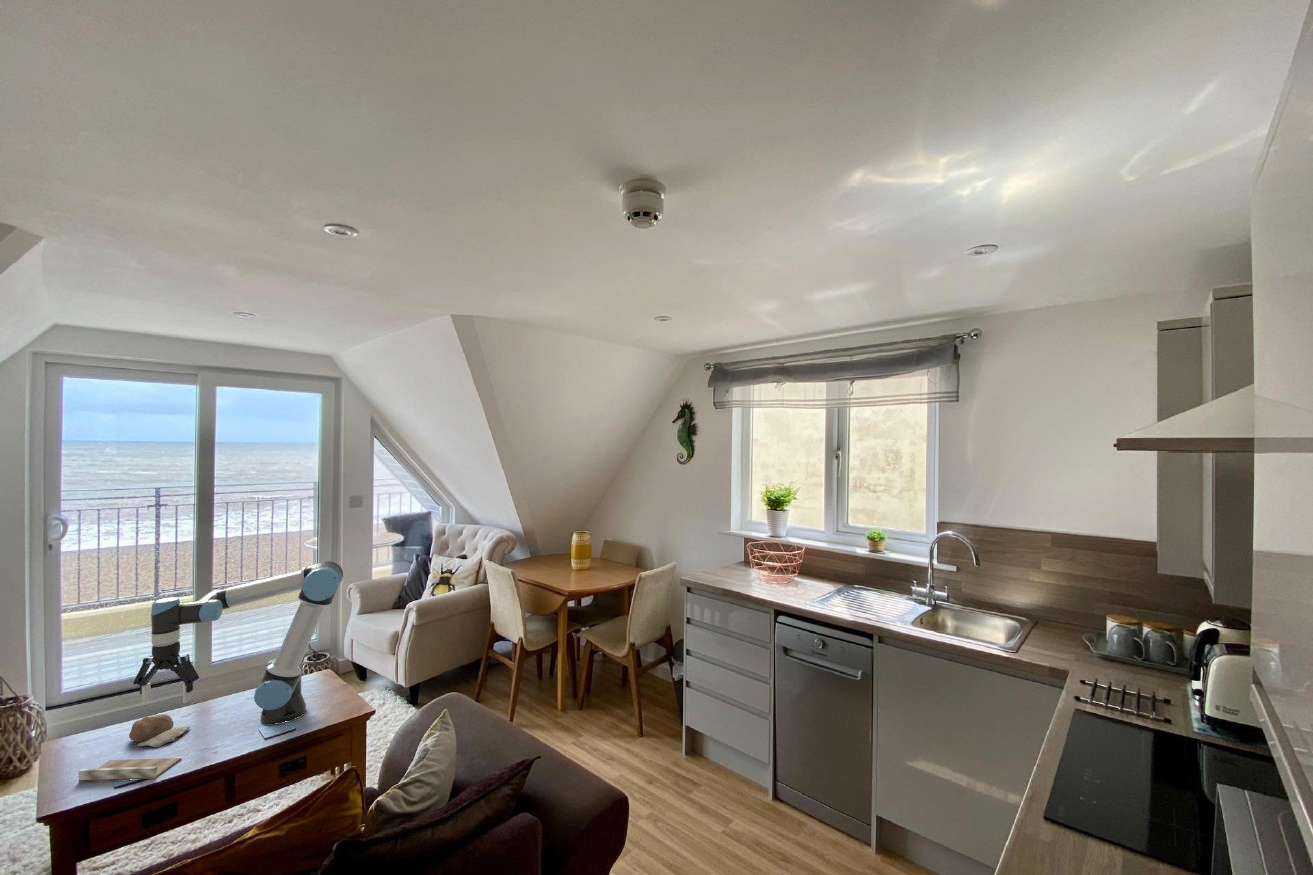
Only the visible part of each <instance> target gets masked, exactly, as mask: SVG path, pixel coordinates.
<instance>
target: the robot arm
mask: <svg viewBox="0 0 1313 875" xmlns="http://www.w3.org/2000/svg"><path fill="white" fill-rule="evenodd" d="M343 578H344V570H343V569H342V567H341V565H339V564H338V562H337V563H336V562H335V561H330V560H329V561H327V560H326V561H322V562H317V563H315V564H312V565H307V566H304V567H303V568H302V569H301V570H298V571H295V572H290V573H287V574H282V575H278V576H273V577H269V578H265V579H261V580H256V581H253V582H250V583H245V584H240V585H236V586H232V587H229V588H225V589H214V590H210V591H208V593H207V592H206V594H205V595H203V596H202V597H201V598H200V599H198V600H197V601H191V602H181V600H180V599H179V598H178V597H165V598H161V599H157V600H155V601H154V602H153V603H152V604H151V610H150V612H151V614H150V617H151V645H152V646H151V655H148V656H146V657H144V658H143V659H142V664H141V666H140V669H139V671H138V673H137V675H136V676H135V679H134V680H133V685H138V686H139V694H140V696H141V705H142V706H144V705H147V704H148V703H150V702H151V701H152V697H151V696H152V695H151V694H152V692H151V691H152V690H151V689H152V688H151V686H152V685H151V684H152V683H151V682H150V680H151V679H152V678H153V677H154V676H155V675H156V673H157V672H158V671H163V670H165V671H169V670H171V672H174V673H175V674H176V675H177V676H178V678H180V680H182V682H183V683H184V684H182V704H185V703H187V702H189V701H191V700H192V692H193V690H194V682H196V681H197V680H199V679H200V676H199V674H198V672H197V671H196V669H195V666H194V665H193V663H192V661H191V660H190V654H189V653H188V654H185V655H180V651H181V640H180V639H181V634H180V632H181V631H180V630H181V629H180V628H181V626H182V625H189V624H190V625H191V624H201V623H209V622H214V621H218V620H219V619H220V618H221V617H222V614H223V610H227V609H231V608H235V607H239V606H242V605H247V604H250V603H254V602H257V601H262V600H266V599H271V598H274V597H277V596H281V595H286V594H289V593H293V592H297V591H298V592H299V591H300V592H299V595H298V596H297V597H298V600H299V602H300V603H299V606H298V607H297V609H296V612H295V614H294V616H293V618H292V621H291V623H290V625H289V628H288V630H287V632H286V635H285V636H284V639H283V642H282V644H281V646H280V649H279V650H278V653H277V656H276V657H275V658H273V659H271V660H269V661H268V662H267V663H266V667H265V669H266V670H265V672H264V674H263V676H262V678H261V680H260V683H259V685H258V686H257V688H255V691H254V694H253V695H254V696H253V699H254V703H255V704H256V706H258V707H259V708H261V709H262V711H261V713H260V723H261V724H263V725H267V724H275V723H282V722H285V721H290V720H292V721H294V720H293V719H295V718H297V717H299V716H301V715H302V714H303V715H305V713H306V712H307V704H306V701H305V699H304V696H303V694H302V665H303V662H302V661H303V658H304V656H305V654H306V652H307V650H308V647H309V645H310V642H311V640H312V638H313V635H314V633H315V631H316V628H317V627H318V624H319V622H320V619H321V617H322V614H323V613H324V609H325V608H326V607H328V606H330V605H331V604H332V602H333V600H334V597H335V595H336V593H337V590H338V589H339V586H340V584H341V583H342V580H343ZM152 663H153V666H152V667H151V668H150V666H151V665H152ZM148 670H149V671H148ZM305 711H306V712H305ZM304 712H305V713H304ZM303 715H302V716H303ZM302 716H301V717H302ZM299 718H300V717H299ZM297 719H298V718H297ZM295 720H296V719H295ZM290 722H291V721H290ZM282 724H283V723H282Z"/></svg>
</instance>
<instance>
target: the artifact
mask: <svg viewBox="0 0 1313 875" xmlns="http://www.w3.org/2000/svg"><path fill="white" fill-rule="evenodd" d="M190 728H191V725H190V724H188V725H185V726H180V727H172V729H170V730H167V731H165V732H162V733H161V734H159V735H157V736H155V737H153V738H151V739H149V740H147V741H144V742H142V741H141V742H138V743H137V746H138V747H147V746H149V747H153V748H159V747H161V746H163V745H166V744H169V743H171V742H174V741H175V740H177V739H178V738H179V737H181V735H183V734H184V733H185V732H186V731H187V730H188V729H190Z"/></svg>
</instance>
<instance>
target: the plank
mask: <svg viewBox="0 0 1313 875" xmlns="http://www.w3.org/2000/svg"><path fill="white" fill-rule="evenodd" d="M180 761H182V757H171V758H170V757H169V758H167V757H166V758H165V757H163V758H134V759H109V760H108V761H106V762H105V763H103V764H101V765H100V766H99V767H97V768H80V769H79V770H78V783H79V782H82V783H81V784H85V782H86V783H87V782H88V783H99V782H98V781H108V782H123V781H122V780H129V781H131V780H130V779H150V780H156V779H157V778H158V777H159V776H161V775H162V774H164V773H165V772H167V771H168V770H170V769H171V768H172V767H174V766H175V765H176V764H178V763H179V762H180ZM119 780H121V781H119ZM96 781H97V782H96ZM83 782H84V783H83Z"/></svg>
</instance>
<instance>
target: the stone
mask: <svg viewBox="0 0 1313 875" xmlns="http://www.w3.org/2000/svg"><path fill="white" fill-rule="evenodd" d="M173 728H174V721H173V718H172V716H170V715H168V714H166V713H165V714H164V713H162V714H156V715H154V716H152V715H151V716H145V717H143V718H142V719H140V720H139V719H138V720H136V721H134V723H133V724H132V726H131V730H130V732H129V735H128V737H129V739H130V740H132V741H136V742H138V743H142V742H145V741H147V740H149V739H151V738H153V737H155V736H157V735H159V734H161V733H162V732H165V731H167V730H170V729H173Z"/></svg>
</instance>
